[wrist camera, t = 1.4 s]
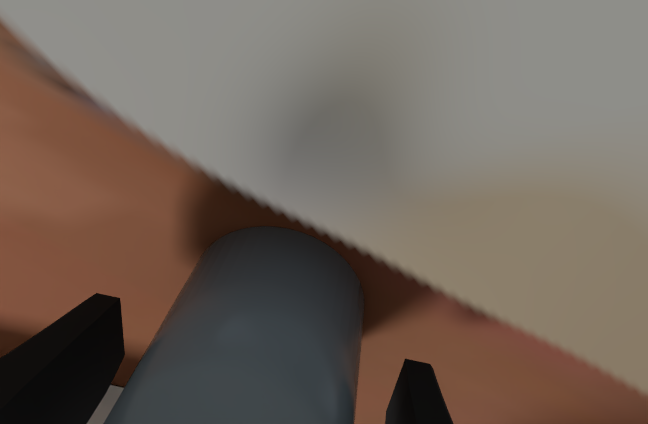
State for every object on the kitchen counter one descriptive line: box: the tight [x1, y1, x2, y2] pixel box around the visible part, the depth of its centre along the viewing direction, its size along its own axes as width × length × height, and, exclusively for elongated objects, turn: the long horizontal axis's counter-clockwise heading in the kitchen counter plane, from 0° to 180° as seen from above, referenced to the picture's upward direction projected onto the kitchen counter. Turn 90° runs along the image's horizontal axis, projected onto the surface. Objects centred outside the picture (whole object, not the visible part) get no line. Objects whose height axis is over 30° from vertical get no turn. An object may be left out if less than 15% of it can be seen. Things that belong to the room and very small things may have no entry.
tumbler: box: [103, 226, 364, 424], centre depth 11 cm, size 5×5×7 cm
